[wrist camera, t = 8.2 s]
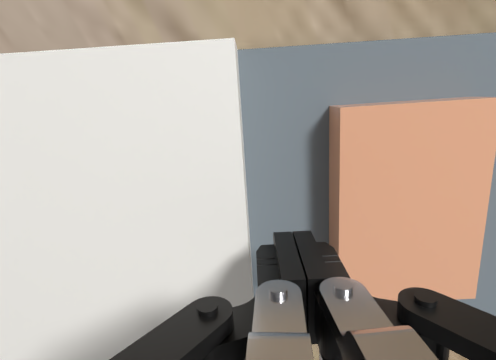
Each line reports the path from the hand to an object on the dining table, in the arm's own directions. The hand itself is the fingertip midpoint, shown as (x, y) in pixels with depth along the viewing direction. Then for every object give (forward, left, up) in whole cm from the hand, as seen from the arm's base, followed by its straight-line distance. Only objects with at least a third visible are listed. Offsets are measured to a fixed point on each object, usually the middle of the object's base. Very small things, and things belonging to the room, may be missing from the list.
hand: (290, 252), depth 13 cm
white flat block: (0, -9, -5) cm, 10 cm away
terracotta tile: (0, +6, -3) cm, 7 cm away
